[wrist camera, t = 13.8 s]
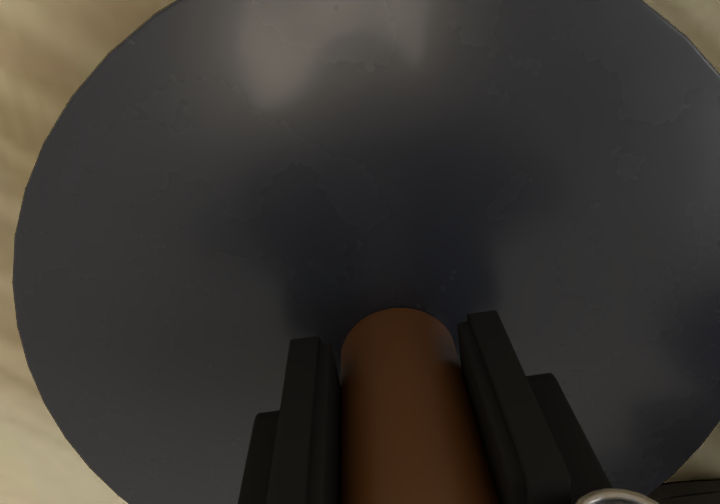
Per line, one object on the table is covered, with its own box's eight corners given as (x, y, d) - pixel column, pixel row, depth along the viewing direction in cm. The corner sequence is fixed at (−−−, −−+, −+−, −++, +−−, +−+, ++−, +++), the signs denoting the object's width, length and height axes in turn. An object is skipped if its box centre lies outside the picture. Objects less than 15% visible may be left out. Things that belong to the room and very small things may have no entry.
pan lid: (809, -143, 9) (1489, -307, 4) (701, 513, 16) (885, 792, 11) (-106, 19, 10) (-657, 81, 4) (166, 580, 17) (81, 873, 11)
